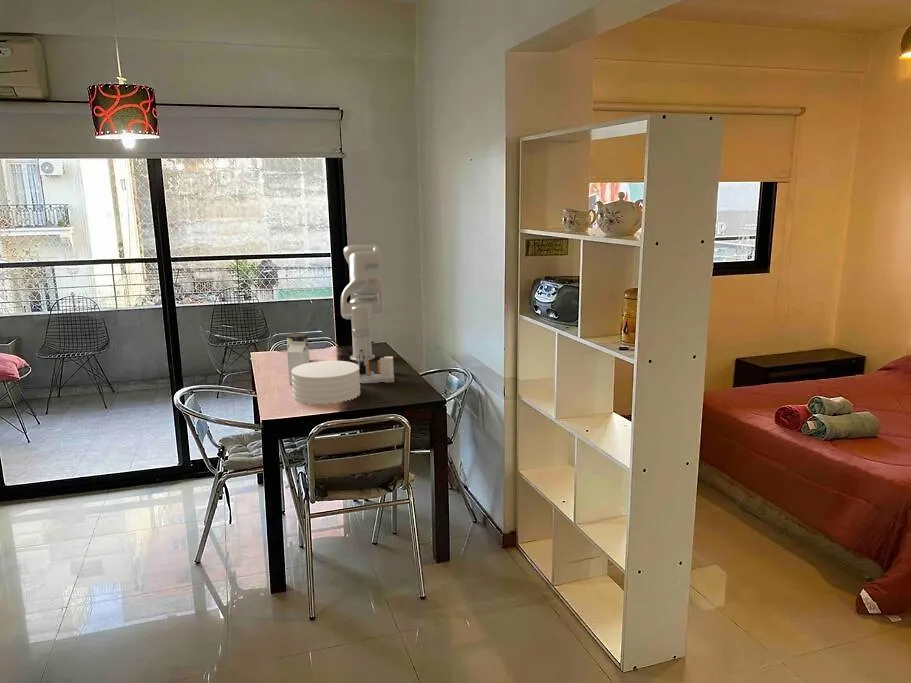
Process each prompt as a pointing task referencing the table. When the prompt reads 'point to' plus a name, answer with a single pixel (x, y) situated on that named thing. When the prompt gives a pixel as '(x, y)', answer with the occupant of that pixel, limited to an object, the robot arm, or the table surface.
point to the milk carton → (297, 356)
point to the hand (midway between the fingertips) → (362, 372)
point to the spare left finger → (390, 364)
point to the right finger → (366, 366)
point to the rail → (383, 377)
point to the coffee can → (297, 338)
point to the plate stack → (326, 382)
